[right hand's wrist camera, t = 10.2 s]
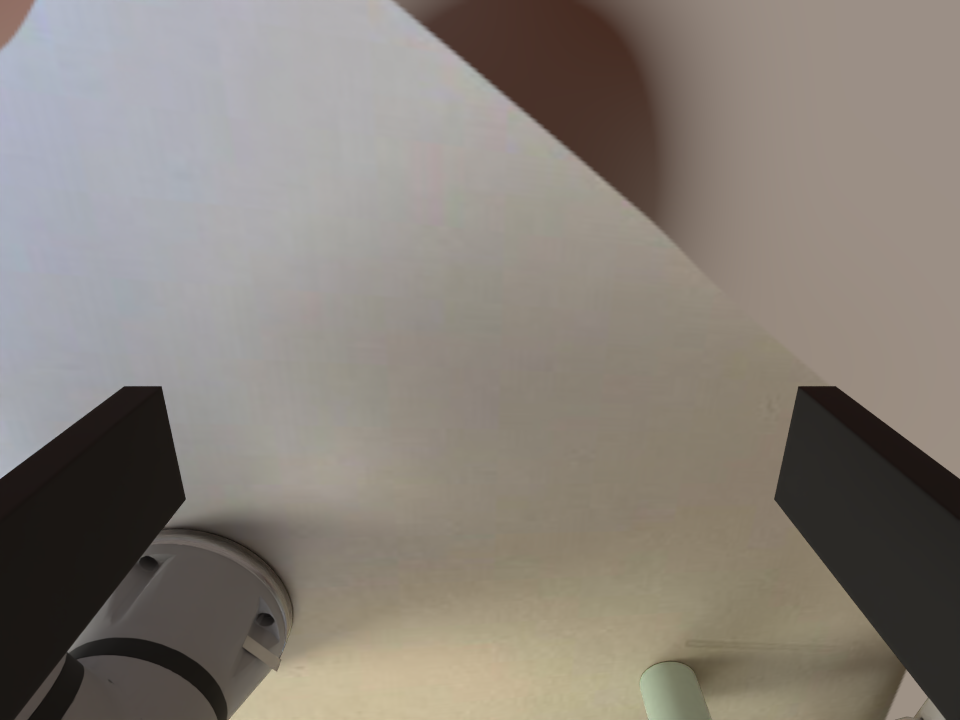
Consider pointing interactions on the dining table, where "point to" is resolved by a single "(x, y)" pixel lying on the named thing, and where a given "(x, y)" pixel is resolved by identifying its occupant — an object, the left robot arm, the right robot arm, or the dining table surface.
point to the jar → (673, 693)
